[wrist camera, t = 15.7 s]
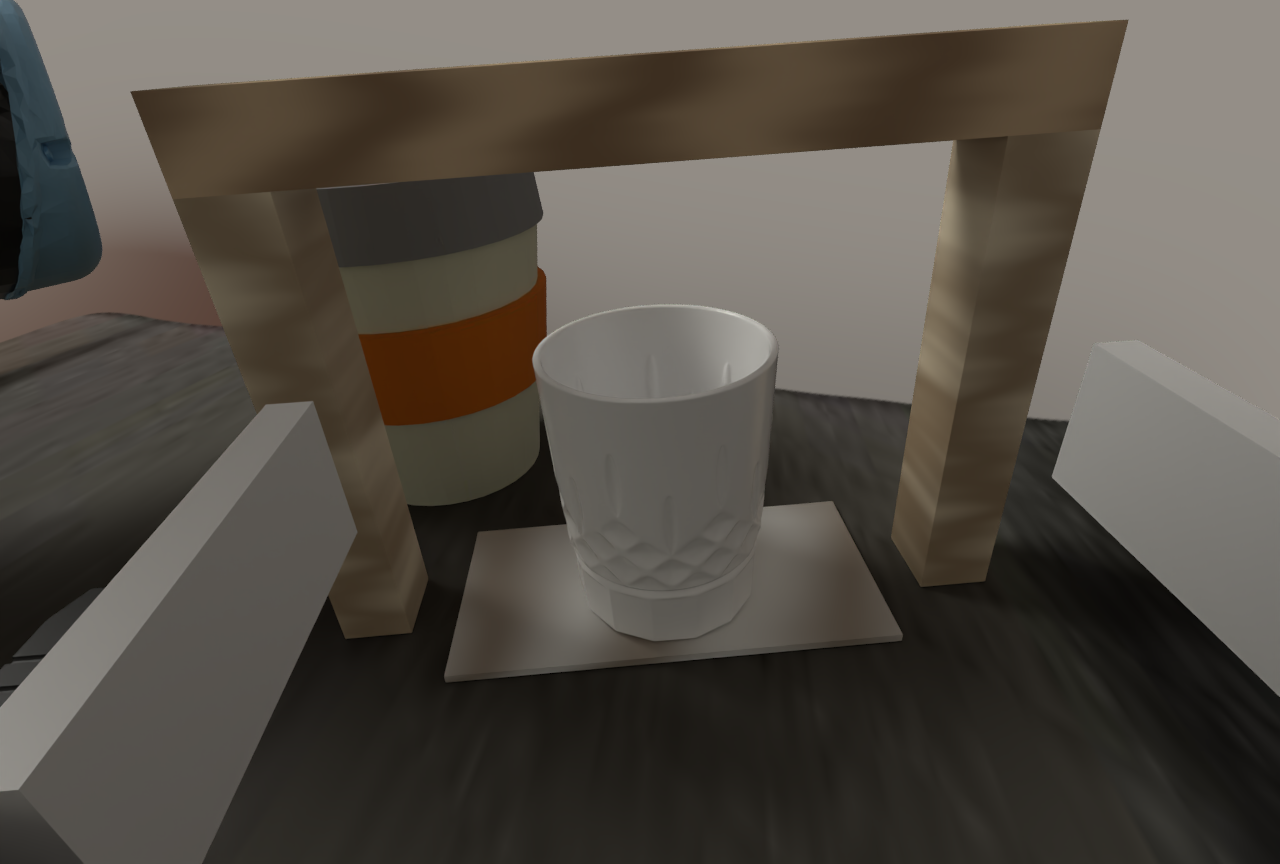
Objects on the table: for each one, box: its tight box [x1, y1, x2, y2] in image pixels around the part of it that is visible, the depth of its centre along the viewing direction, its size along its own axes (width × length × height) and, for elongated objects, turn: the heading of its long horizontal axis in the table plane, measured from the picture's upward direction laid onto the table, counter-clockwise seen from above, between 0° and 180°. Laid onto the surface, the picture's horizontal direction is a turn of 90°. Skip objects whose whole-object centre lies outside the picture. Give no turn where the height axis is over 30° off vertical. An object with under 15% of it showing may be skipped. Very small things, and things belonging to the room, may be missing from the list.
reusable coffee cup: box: [316, 172, 547, 506], centre depth 33 cm, size 13×12×15 cm
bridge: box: [131, 20, 1128, 683], centre depth 22 cm, size 24×8×18 cm, turn 94°
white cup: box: [532, 304, 779, 641], centre depth 24 cm, size 8×8×10 cm
